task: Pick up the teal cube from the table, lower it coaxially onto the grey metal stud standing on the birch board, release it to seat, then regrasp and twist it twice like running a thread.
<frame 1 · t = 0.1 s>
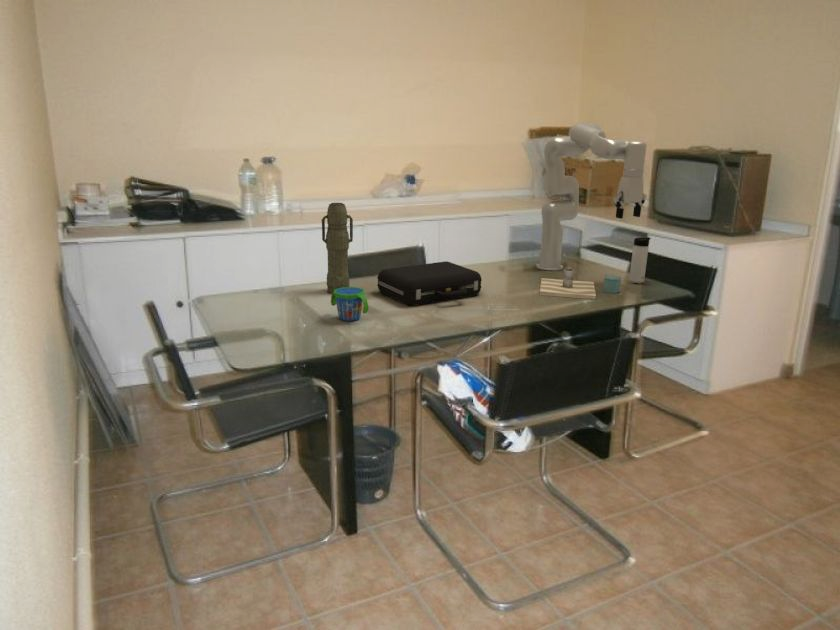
hand: (627, 217, 262), 31 cm above the table, tool pointing down, fingers open, 9 cm apart
teal cube: (611, 291, 272), on the table
travel mug: (636, 282, 287), on the table
post board: (567, 290, 272), on the table
snack cup: (349, 319, 229), on the table
briefcase: (433, 296, 260), on the table
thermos: (338, 291, 262), on the table
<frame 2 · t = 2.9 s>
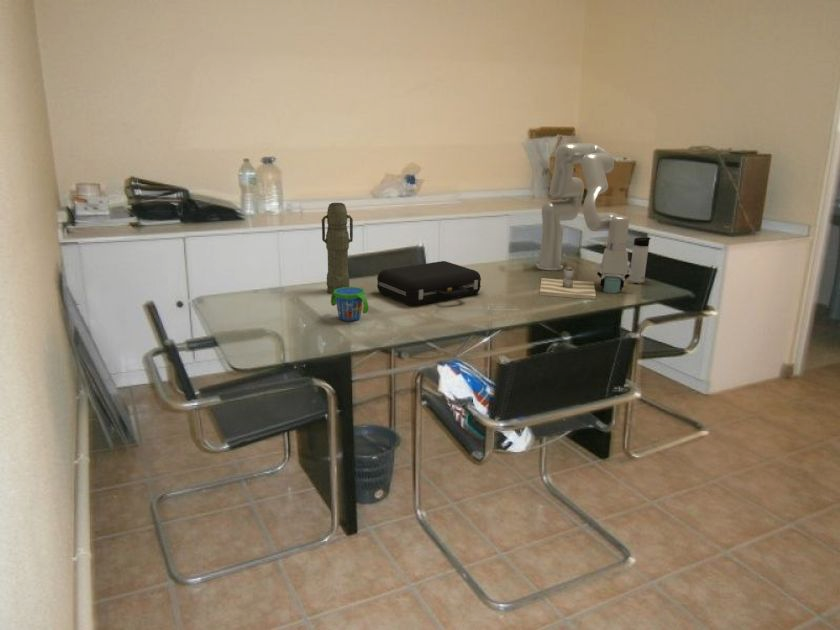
hand: (611, 288, 272), 1 cm above the table, tool pointing down, fingers closed on teal cube, 6 cm apart
teal cube: (611, 291, 272), on the table, touching gripper
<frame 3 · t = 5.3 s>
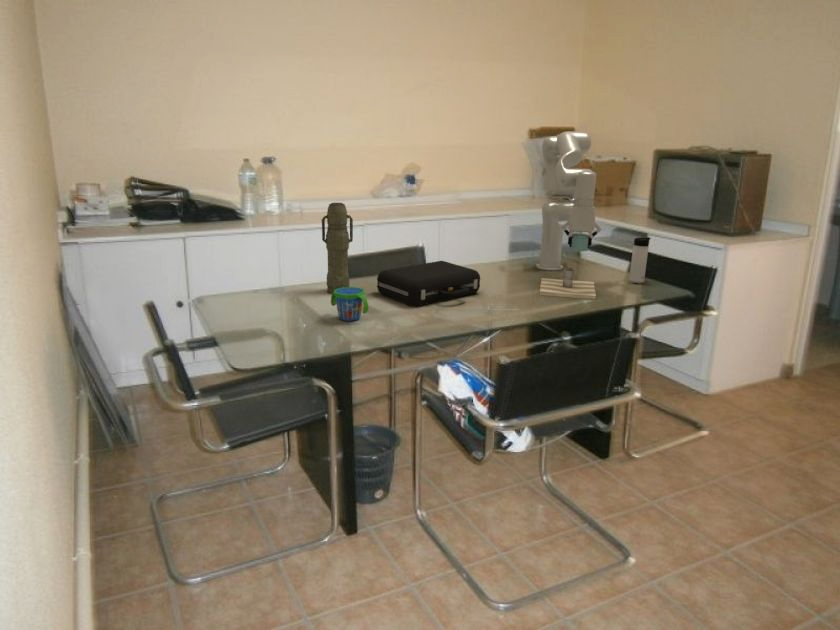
hand: (579, 246, 267), 18 cm above the table, tool pointing down, fingers closed on teal cube, 6 cm apart
teal cube: (579, 249, 267), point 17 cm above the table, touching gripper
when the fingers open (7 cm above the table, at t = 7.9 s): teal cube drops 1 cm, resting on post board.
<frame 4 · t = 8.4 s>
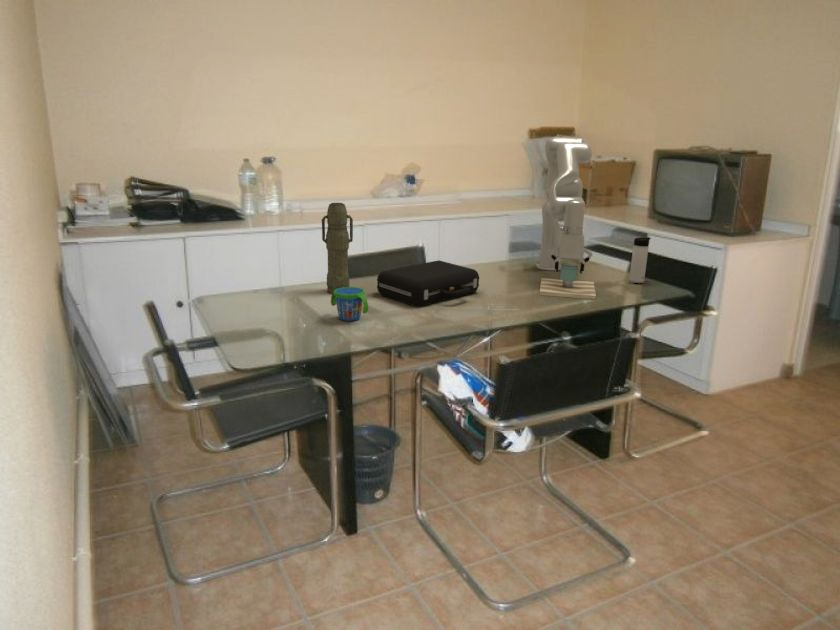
hand: (568, 271, 270), 8 cm above the table, tool pointing down, fingers open, 9 cm apart
teal cube: (568, 279, 271), point 5 cm above the table, touching post board
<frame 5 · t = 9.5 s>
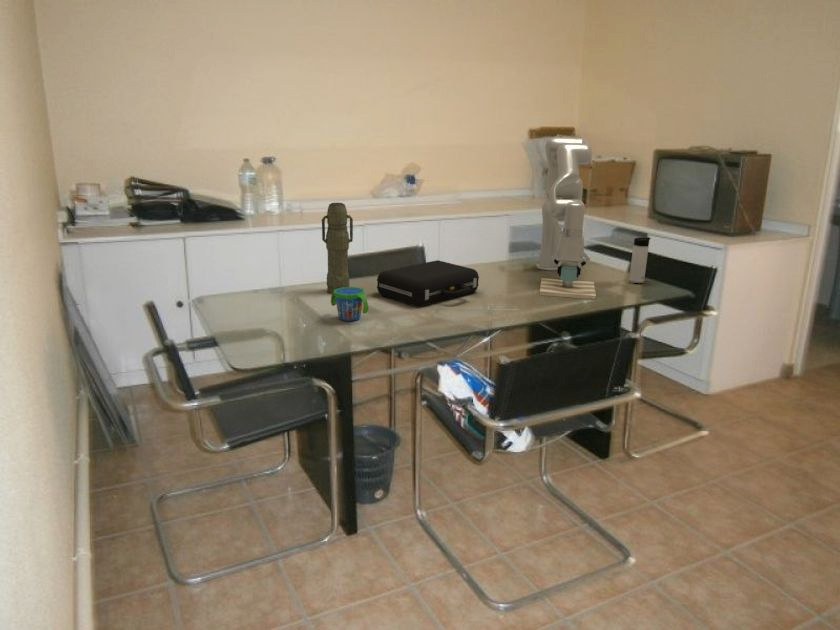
hand: (568, 275, 270), 6 cm above the table, tool pointing down, fingers closed on teal cube, 6 cm apart
teal cube: (568, 279, 271), point 5 cm above the table, touching gripper, post board
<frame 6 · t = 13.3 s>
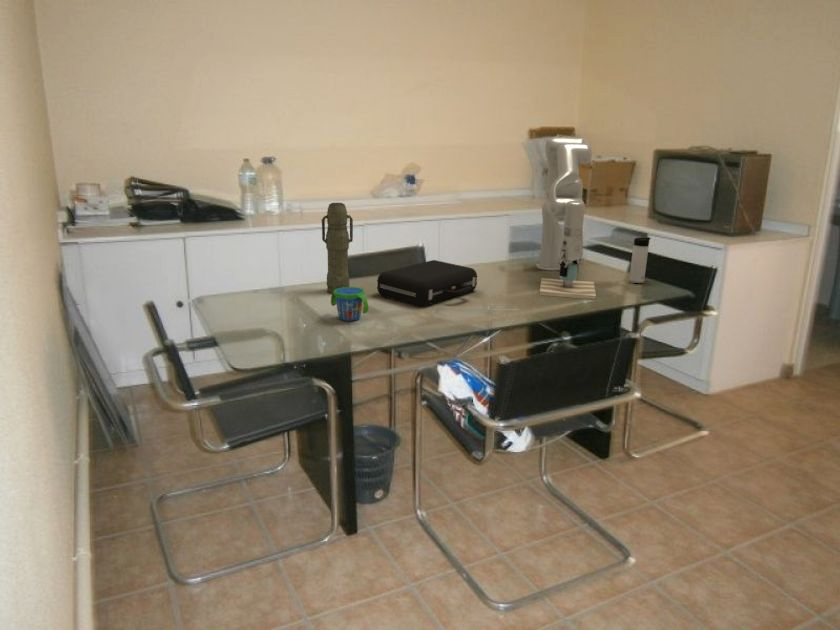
hand: (568, 274, 270), 7 cm above the table, tool pointing down, fingers closed on teal cube, 6 cm apart
teal cube: (567, 278, 271), point 5 cm above the table, touching gripper
when the fingers open (7 cm above the table, at t = 13.6 s): teal cube stays where it is, resting on post board.
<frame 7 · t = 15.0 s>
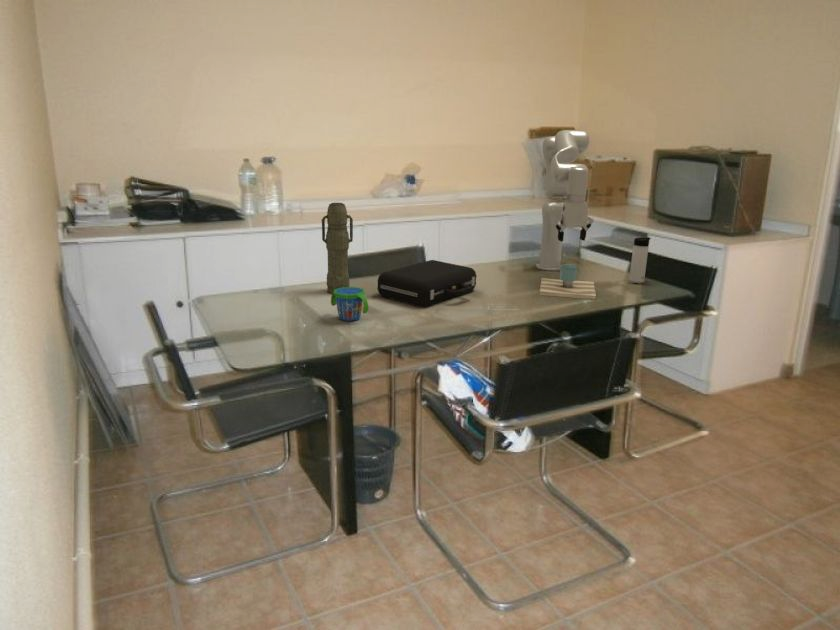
hand: (571, 240, 267), 21 cm above the table, tool pointing down, fingers open, 9 cm apart
teal cube: (567, 279, 271), point 5 cm above the table, touching post board
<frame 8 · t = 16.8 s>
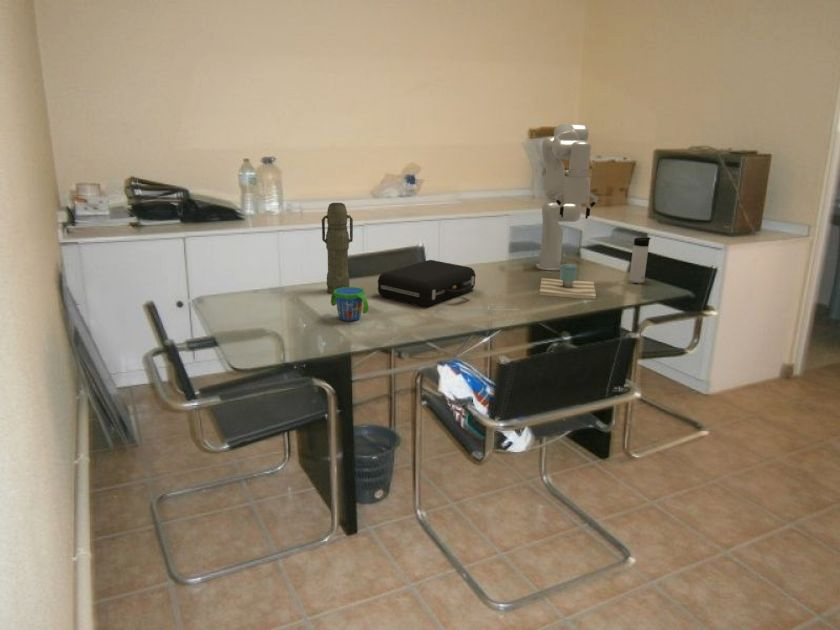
hand: (574, 217, 263), 30 cm above the table, tool pointing down, fingers open, 9 cm apart
at the end: teal cube 0.1 cm off-centre on the post board, point 4.5 cm above the post board's base; teal cube tilted 0°; the gripper is holding nothing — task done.
